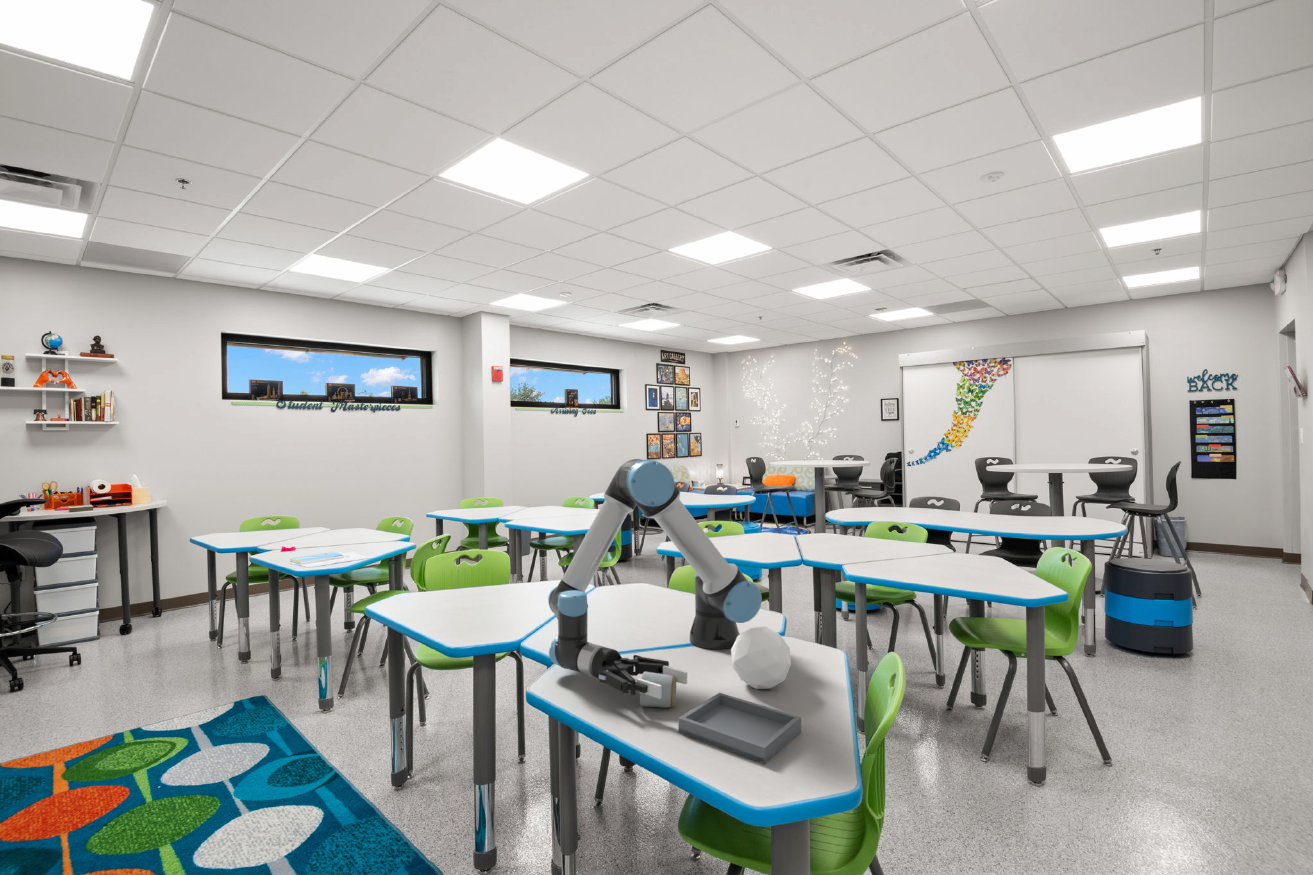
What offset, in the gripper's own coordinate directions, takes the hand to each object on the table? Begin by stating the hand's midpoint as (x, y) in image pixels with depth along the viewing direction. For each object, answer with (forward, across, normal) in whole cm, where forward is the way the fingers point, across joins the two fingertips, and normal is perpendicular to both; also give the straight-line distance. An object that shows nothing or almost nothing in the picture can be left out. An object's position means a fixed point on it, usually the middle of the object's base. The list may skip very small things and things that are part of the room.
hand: (673, 684), depth 135 cm
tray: (+16, -1, -6) cm, 18 cm away
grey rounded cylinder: (-6, -1, -6) cm, 8 cm away
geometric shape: (+8, -25, -6) cm, 27 cm away
